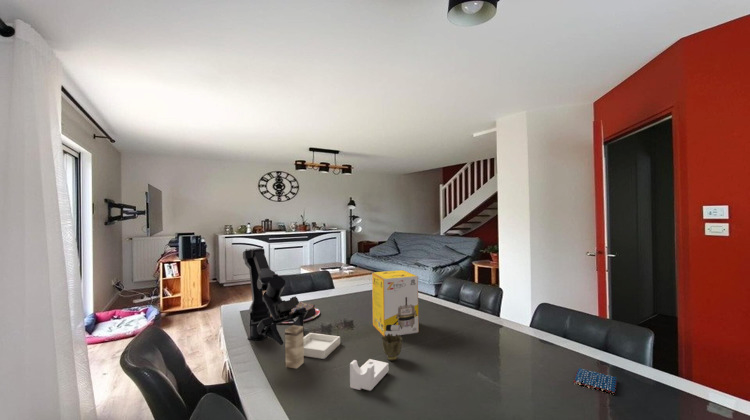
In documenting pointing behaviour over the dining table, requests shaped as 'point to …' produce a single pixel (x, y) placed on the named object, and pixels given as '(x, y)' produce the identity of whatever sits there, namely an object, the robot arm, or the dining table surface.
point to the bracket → (367, 374)
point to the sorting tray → (319, 345)
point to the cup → (392, 346)
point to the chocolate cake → (309, 316)
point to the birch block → (294, 346)
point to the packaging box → (395, 302)
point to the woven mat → (595, 380)
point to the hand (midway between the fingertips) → (293, 340)
